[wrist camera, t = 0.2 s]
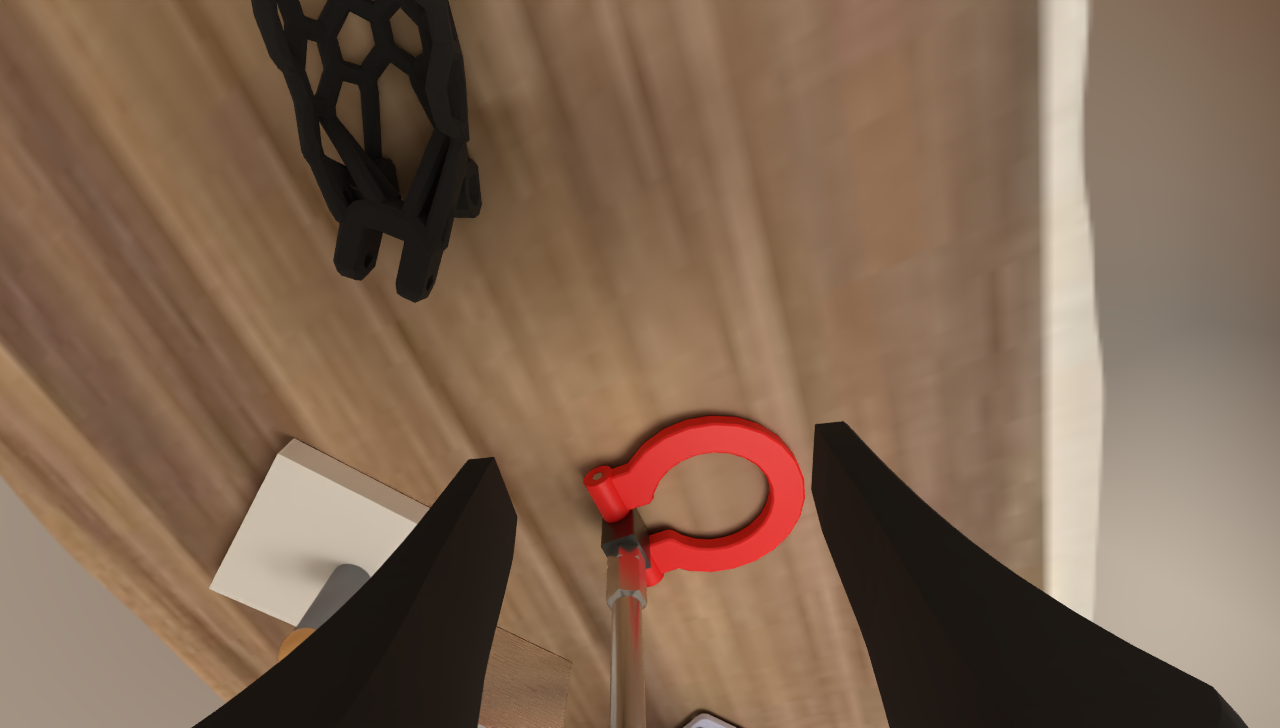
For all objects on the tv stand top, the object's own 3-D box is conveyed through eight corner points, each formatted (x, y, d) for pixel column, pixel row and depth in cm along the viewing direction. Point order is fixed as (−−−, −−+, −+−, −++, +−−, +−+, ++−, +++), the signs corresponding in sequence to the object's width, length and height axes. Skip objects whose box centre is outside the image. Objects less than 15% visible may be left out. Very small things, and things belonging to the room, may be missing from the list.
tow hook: (768, 383, 24) (573, 454, 25) (906, 648, 12) (531, 756, 14) (817, 523, 27) (643, 580, 29) (962, 835, 16) (657, 908, 17)
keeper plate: (419, 656, 31) (369, 777, 26) (225, 569, 29) (122, 684, 23) (506, 547, 28) (470, 661, 22) (293, 438, 25) (191, 536, 20)
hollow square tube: (523, 710, 33) (503, 807, 29) (442, 675, 32) (408, 770, 28) (571, 662, 31) (558, 757, 27) (487, 622, 30) (458, 715, 26)
